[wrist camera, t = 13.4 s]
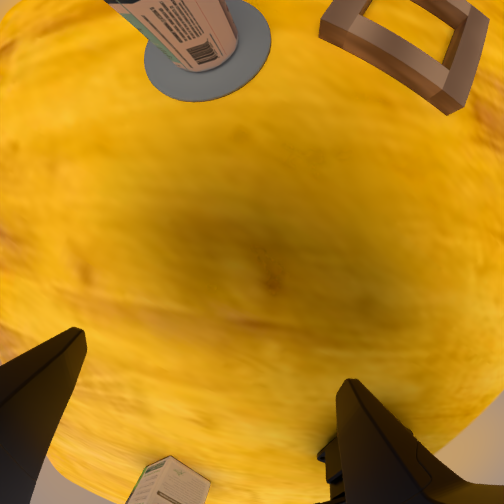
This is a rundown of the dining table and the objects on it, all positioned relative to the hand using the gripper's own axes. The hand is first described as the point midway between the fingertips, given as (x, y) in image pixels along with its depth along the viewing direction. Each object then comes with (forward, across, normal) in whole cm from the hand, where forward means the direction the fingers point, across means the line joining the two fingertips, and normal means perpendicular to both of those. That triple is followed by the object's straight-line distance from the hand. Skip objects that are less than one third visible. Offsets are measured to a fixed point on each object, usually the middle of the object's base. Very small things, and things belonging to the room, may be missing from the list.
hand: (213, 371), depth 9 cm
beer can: (+14, +5, -12) cm, 19 cm away
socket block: (+13, -9, -18) cm, 24 cm away
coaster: (+14, +5, -12) cm, 20 cm away
